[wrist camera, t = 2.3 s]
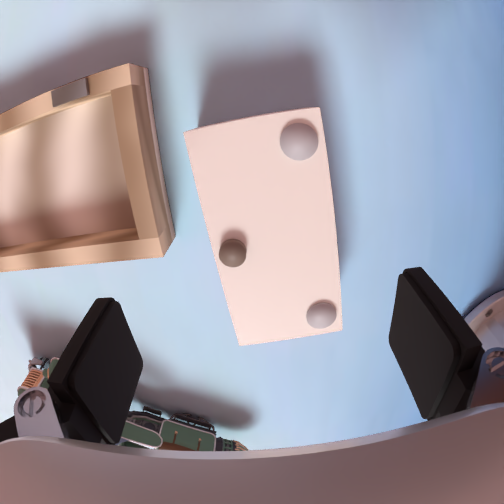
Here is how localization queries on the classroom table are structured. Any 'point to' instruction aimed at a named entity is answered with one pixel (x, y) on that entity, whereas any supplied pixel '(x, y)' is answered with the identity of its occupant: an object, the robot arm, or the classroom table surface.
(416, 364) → the robot arm
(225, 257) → the pale pink knobbed block
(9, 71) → the classroom table surface
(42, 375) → the hoverbike
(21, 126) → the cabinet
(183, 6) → the classroom table surface
